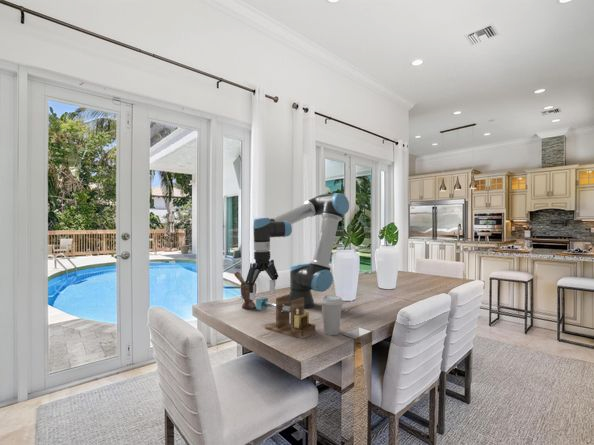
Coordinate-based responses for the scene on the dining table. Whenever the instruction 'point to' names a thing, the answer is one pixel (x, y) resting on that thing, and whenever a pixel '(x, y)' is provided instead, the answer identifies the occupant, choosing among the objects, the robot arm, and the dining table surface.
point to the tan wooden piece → (298, 320)
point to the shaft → (269, 305)
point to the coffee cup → (331, 313)
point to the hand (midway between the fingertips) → (262, 296)
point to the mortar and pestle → (245, 292)
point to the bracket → (283, 318)
